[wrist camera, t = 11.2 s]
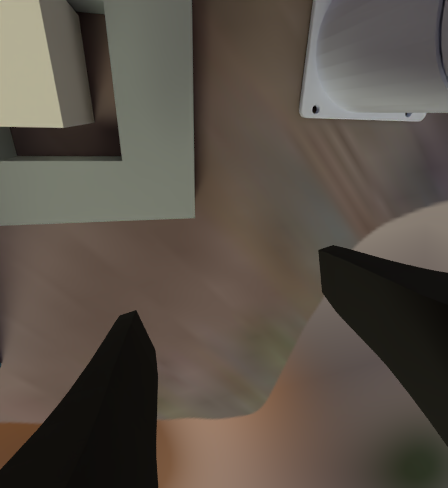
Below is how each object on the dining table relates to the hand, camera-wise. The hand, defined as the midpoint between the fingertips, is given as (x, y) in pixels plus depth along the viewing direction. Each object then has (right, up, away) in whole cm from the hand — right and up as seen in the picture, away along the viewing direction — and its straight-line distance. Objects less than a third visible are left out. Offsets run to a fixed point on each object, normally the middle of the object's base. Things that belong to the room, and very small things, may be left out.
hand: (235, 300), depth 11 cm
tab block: (-9, +11, +4) cm, 15 cm away
